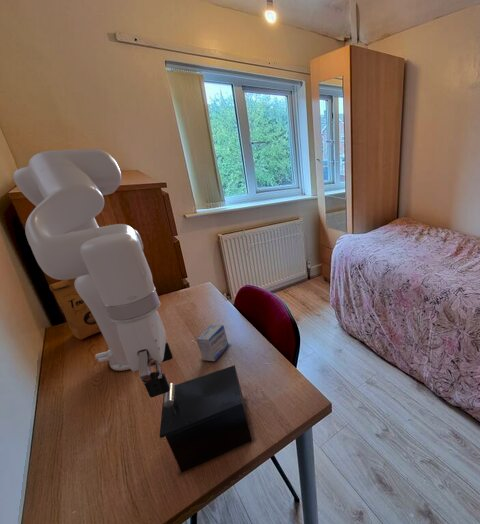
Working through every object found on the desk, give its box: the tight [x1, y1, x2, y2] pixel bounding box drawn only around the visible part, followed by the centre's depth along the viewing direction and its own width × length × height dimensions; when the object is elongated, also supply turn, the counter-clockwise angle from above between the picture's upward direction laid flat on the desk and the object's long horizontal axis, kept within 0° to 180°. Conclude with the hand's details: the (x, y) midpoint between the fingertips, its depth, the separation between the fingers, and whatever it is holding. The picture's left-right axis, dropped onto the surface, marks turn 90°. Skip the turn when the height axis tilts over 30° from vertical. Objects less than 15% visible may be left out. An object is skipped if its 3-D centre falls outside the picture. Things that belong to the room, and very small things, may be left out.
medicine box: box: [195, 323, 229, 362], centre depth 92 cm, size 8×4×9 cm, turn 168°
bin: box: [164, 370, 253, 474], centre depth 66 cm, size 15×13×12 cm
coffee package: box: [48, 278, 101, 340], centre depth 102 cm, size 10×12×22 cm
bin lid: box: [159, 364, 243, 439], centre depth 63 cm, size 15×13×5 cm
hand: (162, 375), depth 57 cm, fingers open, 9 cm apart
